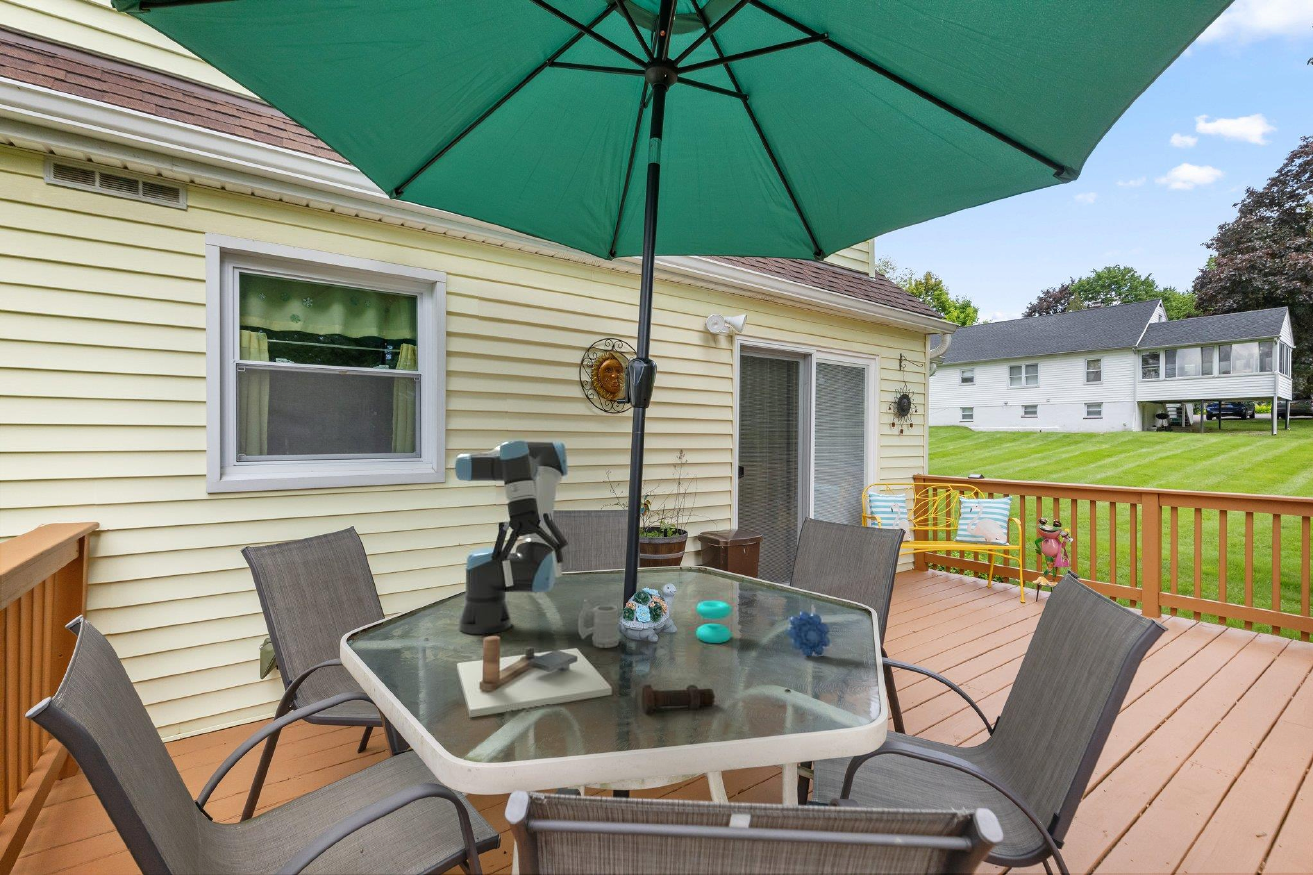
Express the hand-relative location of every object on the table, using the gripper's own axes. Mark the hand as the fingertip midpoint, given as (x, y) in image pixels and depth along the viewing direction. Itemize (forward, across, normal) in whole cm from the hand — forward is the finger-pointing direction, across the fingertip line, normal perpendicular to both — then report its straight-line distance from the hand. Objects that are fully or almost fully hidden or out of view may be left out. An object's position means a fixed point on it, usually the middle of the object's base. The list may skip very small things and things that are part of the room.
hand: (534, 581), depth 152 cm
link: (+19, -3, -13) cm, 24 cm away
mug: (+21, +8, +18) cm, 29 cm away
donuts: (+27, +38, +30) cm, 55 cm away
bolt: (+31, +35, -17) cm, 50 cm away
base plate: (+22, 0, -11) cm, 24 cm away
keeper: (+23, +5, -9) cm, 25 cm away
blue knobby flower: (+33, +64, +21) cm, 75 cm away
